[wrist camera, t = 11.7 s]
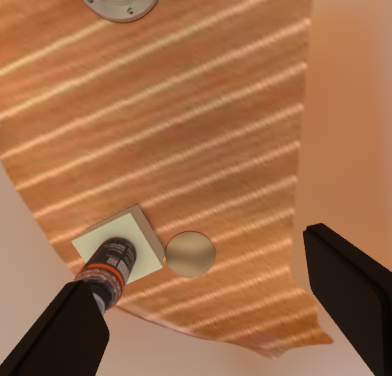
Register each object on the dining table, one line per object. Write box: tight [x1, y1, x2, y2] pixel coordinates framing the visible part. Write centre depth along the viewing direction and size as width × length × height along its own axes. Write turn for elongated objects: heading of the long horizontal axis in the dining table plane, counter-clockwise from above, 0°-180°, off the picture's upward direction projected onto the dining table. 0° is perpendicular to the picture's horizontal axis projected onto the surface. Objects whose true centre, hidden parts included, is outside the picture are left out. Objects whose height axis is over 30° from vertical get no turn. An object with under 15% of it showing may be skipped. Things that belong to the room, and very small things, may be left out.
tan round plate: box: [165, 231, 215, 278], centre depth 41 cm, size 9×9×1 cm
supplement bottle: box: [74, 238, 137, 316], centre depth 29 cm, size 6×6×11 cm
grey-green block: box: [71, 204, 165, 284], centre depth 38 cm, size 10×10×5 cm
